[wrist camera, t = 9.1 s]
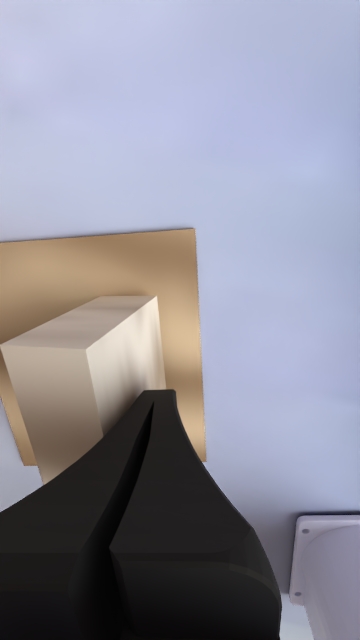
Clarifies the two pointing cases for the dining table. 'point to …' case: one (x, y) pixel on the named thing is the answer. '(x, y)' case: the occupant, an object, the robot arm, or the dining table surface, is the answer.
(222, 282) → the dining table surface
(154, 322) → the slab
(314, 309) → the dining table surface
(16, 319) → the mat
